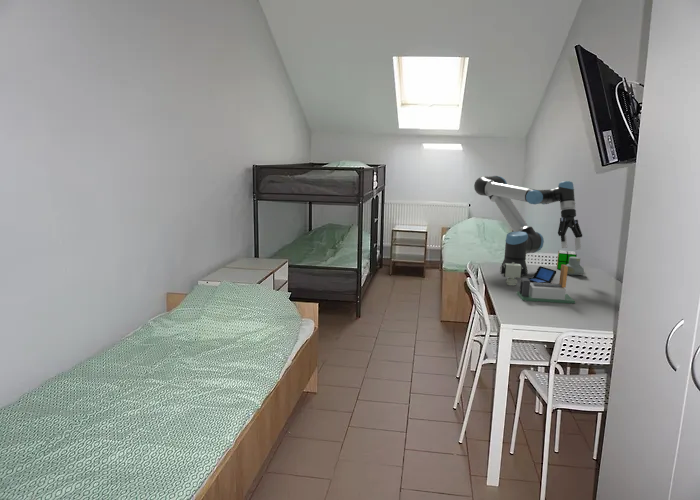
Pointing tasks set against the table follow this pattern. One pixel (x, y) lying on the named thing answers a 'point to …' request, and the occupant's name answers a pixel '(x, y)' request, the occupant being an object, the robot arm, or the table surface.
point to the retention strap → (562, 279)
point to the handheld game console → (543, 275)
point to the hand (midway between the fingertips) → (571, 248)
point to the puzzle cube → (564, 257)
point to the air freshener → (574, 266)
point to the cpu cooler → (543, 293)
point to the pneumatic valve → (512, 272)
